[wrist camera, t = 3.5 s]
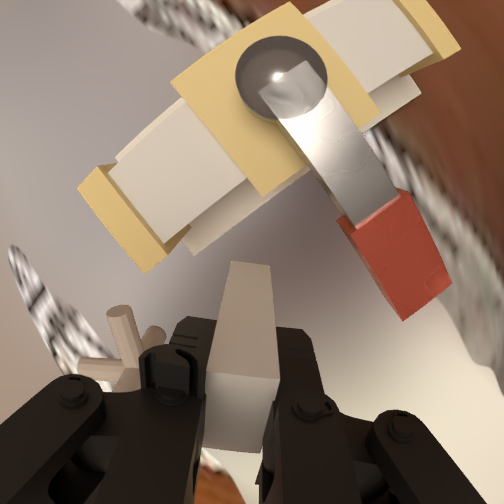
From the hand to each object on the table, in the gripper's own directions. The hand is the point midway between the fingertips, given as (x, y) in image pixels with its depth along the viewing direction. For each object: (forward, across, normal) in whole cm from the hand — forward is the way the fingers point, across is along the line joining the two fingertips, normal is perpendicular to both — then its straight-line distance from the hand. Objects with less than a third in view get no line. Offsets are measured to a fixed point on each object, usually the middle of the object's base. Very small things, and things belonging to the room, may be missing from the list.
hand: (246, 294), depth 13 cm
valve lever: (+1, +3, +5) cm, 6 cm away
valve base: (+11, 0, +8) cm, 13 cm away
